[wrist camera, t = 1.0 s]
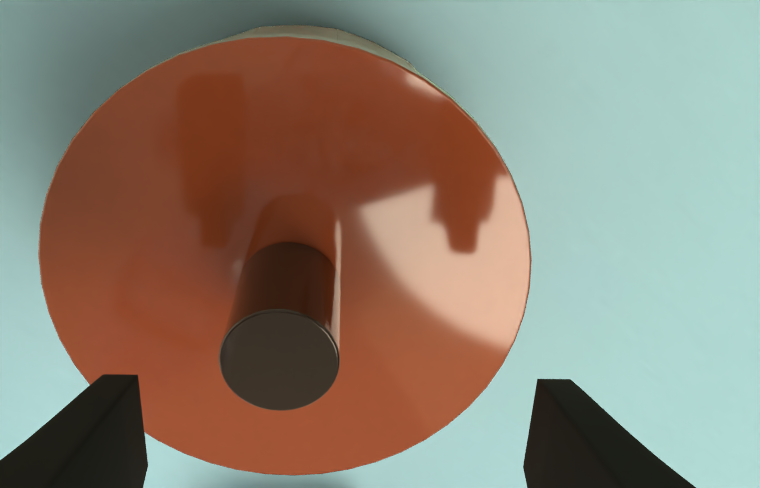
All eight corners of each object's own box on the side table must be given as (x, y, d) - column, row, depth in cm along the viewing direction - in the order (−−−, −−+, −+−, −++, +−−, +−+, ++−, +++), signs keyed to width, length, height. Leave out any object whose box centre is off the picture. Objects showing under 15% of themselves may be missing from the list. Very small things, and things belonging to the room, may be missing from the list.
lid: (296, 512, 22) (286, 644, 18) (-43, 263, 18) (-152, 361, 14) (611, 269, 19) (682, 363, 15) (286, -92, 15) (267, -94, 11)
